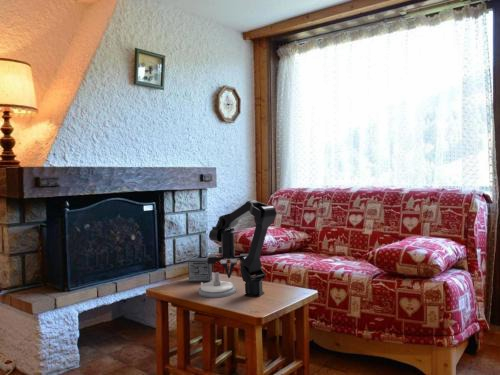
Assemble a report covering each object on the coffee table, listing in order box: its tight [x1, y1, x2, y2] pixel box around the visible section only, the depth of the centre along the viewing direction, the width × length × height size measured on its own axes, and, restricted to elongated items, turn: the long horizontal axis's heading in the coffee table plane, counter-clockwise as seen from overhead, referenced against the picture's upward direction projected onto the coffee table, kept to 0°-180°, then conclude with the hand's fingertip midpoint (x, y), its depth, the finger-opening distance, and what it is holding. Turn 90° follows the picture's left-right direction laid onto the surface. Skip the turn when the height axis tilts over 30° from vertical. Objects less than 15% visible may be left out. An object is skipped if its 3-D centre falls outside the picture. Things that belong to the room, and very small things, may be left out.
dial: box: [200, 272, 234, 293], centre depth 184 cm, size 14×14×5 cm
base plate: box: [198, 282, 236, 299], centre depth 184 cm, size 16×16×4 cm
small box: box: [187, 257, 213, 283], centre depth 205 cm, size 11×6×10 cm, turn 84°
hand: (229, 277), depth 190 cm, fingers closed
